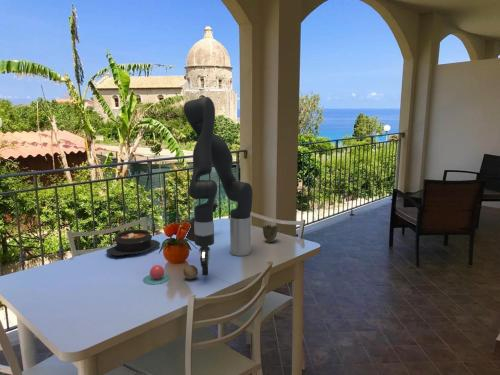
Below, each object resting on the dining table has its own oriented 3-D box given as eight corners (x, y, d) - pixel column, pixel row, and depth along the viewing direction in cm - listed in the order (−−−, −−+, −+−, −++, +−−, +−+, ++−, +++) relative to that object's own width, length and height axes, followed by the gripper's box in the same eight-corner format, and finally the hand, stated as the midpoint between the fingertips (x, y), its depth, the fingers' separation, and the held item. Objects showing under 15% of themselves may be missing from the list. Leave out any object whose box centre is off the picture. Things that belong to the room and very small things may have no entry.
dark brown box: (195, 242, 193) (194, 207, 189) (183, 237, 200) (182, 204, 197) (220, 236, 203) (219, 202, 200) (207, 231, 211) (206, 199, 208)
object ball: (167, 265, 151) (162, 278, 152) (154, 260, 151) (149, 273, 152) (164, 271, 146) (159, 284, 147) (151, 266, 146) (146, 278, 146)
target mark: (146, 274, 154) (146, 273, 154) (171, 273, 154) (171, 273, 154) (140, 284, 144) (140, 284, 144) (167, 284, 144) (166, 283, 144)
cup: (279, 240, 195) (279, 225, 193) (274, 245, 188) (274, 229, 187) (265, 238, 198) (266, 223, 196) (260, 243, 191) (260, 227, 190)
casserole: (117, 263, 166) (115, 244, 164) (100, 252, 179) (98, 235, 178) (167, 249, 183) (167, 232, 181) (148, 240, 196) (148, 224, 195)
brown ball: (200, 265, 152) (194, 277, 152) (187, 260, 151) (181, 273, 151) (199, 271, 146) (194, 283, 147) (186, 266, 145) (180, 278, 146)
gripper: (196, 227, 153) (197, 268, 156) (192, 237, 140) (193, 282, 143) (215, 226, 153) (215, 268, 156) (213, 237, 140) (214, 281, 143)
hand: (205, 274), depth 150 cm, fingers closed
